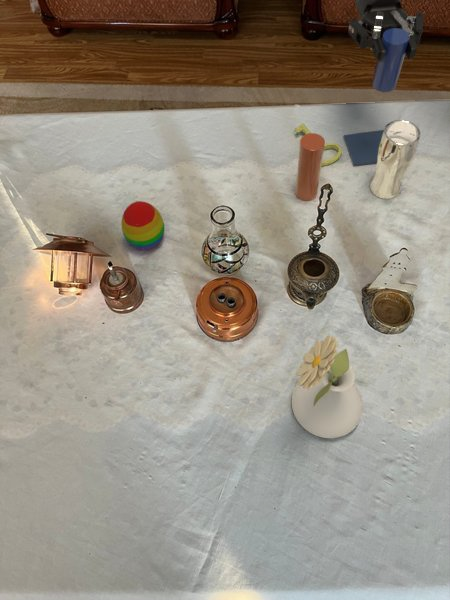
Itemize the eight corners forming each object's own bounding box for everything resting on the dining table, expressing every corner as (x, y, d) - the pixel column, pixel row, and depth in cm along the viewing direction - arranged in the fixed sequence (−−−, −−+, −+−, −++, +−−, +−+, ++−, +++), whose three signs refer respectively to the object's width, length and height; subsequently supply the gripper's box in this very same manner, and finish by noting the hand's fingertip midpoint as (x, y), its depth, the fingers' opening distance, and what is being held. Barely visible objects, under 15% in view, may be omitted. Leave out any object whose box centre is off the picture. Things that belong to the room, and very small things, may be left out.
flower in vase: (323, 361, 90) (344, 285, 69) (375, 407, 86) (415, 341, 64) (269, 411, 86) (274, 347, 65) (321, 463, 82) (344, 412, 60)
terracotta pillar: (314, 183, 111) (321, 131, 99) (319, 199, 109) (327, 148, 97) (293, 186, 111) (297, 134, 99) (297, 202, 109) (302, 152, 97)
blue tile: (382, 132, 118) (383, 129, 117) (394, 161, 113) (395, 158, 112) (343, 137, 117) (343, 134, 117) (353, 166, 113) (354, 163, 112)
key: (300, 128, 120) (301, 121, 118) (345, 153, 115) (347, 145, 113) (281, 146, 117) (281, 139, 115) (326, 172, 113) (327, 164, 111)
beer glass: (362, 180, 111) (376, 124, 98) (392, 172, 112) (410, 115, 99) (377, 204, 107) (393, 149, 94) (408, 195, 108) (428, 139, 95)
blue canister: (392, 75, 102) (405, 26, 94) (399, 90, 100) (413, 42, 91) (369, 78, 102) (380, 29, 94) (375, 93, 100) (387, 45, 91)
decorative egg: (168, 222, 108) (161, 189, 99) (164, 255, 104) (156, 223, 95) (129, 222, 108) (118, 189, 100) (124, 255, 104) (112, 223, 95)
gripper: (342, -16, 98) (361, 40, 90) (418, -23, 98) (444, 32, 90) (336, 22, 105) (353, 78, 96) (408, 15, 105) (431, 71, 96)
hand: (397, 55), depth 93 cm, fingers closed on blue canister, 4 cm apart
